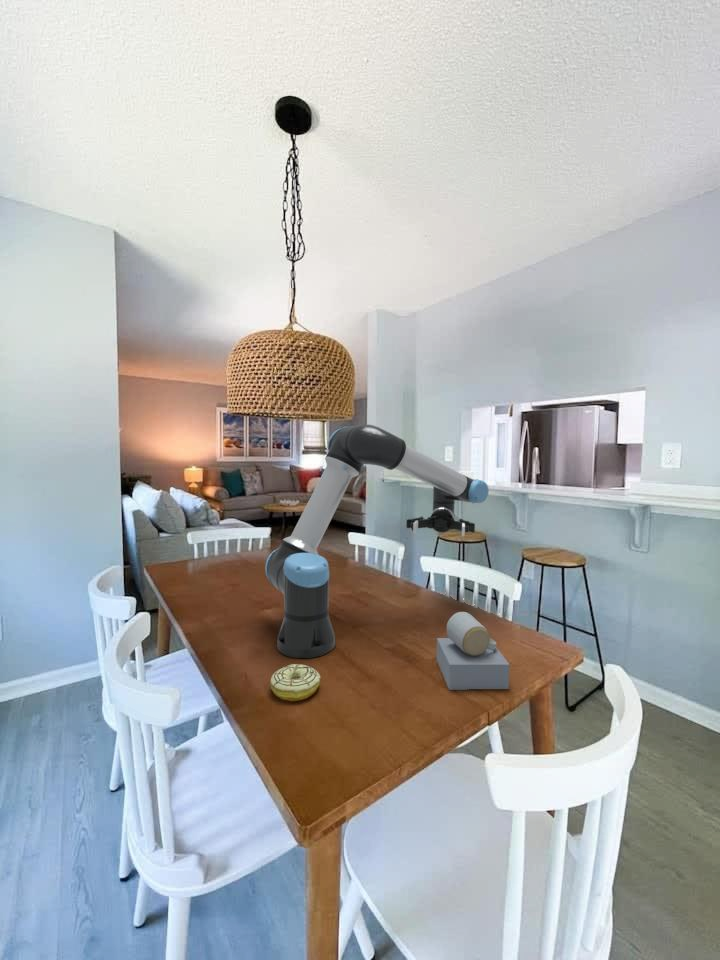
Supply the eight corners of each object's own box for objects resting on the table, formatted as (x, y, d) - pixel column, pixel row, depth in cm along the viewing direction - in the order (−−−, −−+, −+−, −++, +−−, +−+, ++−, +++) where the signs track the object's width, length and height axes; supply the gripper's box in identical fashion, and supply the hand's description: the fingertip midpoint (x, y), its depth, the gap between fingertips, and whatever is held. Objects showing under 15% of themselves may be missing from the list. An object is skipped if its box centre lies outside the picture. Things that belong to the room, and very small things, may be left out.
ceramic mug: (462, 660, 91) (464, 626, 90) (445, 643, 99) (446, 612, 98) (504, 655, 94) (505, 621, 93) (483, 639, 102) (485, 608, 101)
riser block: (449, 691, 89) (449, 664, 89) (436, 661, 102) (437, 638, 102) (508, 691, 90) (509, 664, 89) (488, 661, 103) (489, 638, 102)
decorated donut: (323, 677, 94) (323, 661, 94) (316, 705, 83) (316, 687, 83) (278, 675, 95) (278, 659, 94) (265, 703, 84) (265, 685, 84)
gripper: (480, 533, 135) (484, 546, 114) (404, 528, 141) (394, 539, 120) (481, 510, 134) (485, 519, 114) (404, 506, 140) (395, 514, 120)
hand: (438, 529), depth 117 cm, fingers open, 13 cm apart
